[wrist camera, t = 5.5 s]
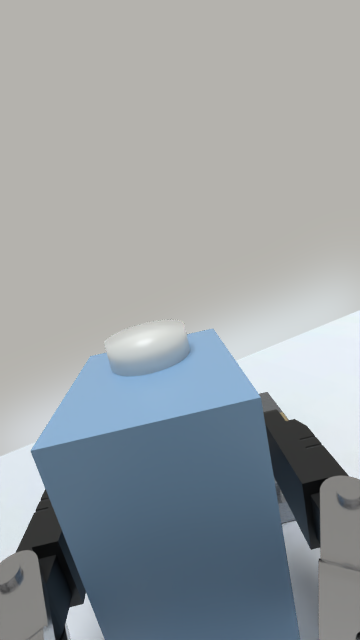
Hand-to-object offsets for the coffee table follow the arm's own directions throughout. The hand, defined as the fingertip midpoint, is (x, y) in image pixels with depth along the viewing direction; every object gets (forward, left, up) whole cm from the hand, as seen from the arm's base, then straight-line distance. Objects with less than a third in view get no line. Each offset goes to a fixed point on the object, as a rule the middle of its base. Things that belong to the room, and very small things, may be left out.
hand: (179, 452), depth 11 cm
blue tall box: (0, -2, -7) cm, 7 cm away
